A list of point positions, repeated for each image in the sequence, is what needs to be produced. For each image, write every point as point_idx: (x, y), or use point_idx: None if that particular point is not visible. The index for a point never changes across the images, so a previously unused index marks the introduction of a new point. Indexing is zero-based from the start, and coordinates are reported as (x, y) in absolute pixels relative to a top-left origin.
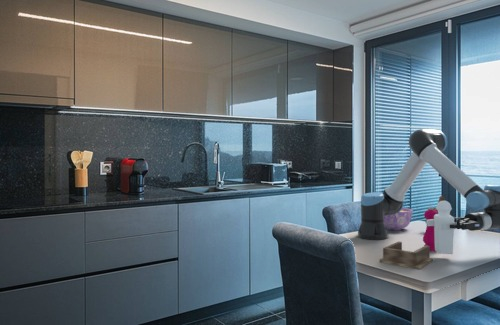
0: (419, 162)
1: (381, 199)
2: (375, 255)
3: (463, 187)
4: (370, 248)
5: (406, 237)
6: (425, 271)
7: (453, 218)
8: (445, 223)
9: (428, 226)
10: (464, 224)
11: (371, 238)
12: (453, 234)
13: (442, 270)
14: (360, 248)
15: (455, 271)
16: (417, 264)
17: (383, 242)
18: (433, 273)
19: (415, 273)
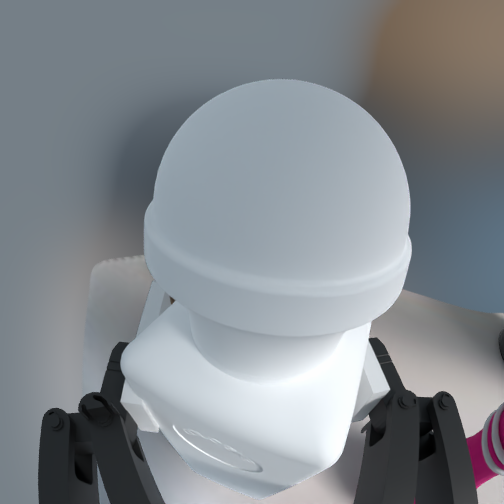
0: None
1: None
2: None
3: None
4: (405, 309)
5: None
6: (136, 300)
7: (122, 354)
8: (148, 298)
9: (479, 431)
10: (45, 424)
11: (500, 343)
12: (167, 439)
13: (114, 338)
14: (401, 291)
15: (86, 359)
16: (171, 299)
17: (482, 365)
18: (113, 303)
19: (139, 276)
